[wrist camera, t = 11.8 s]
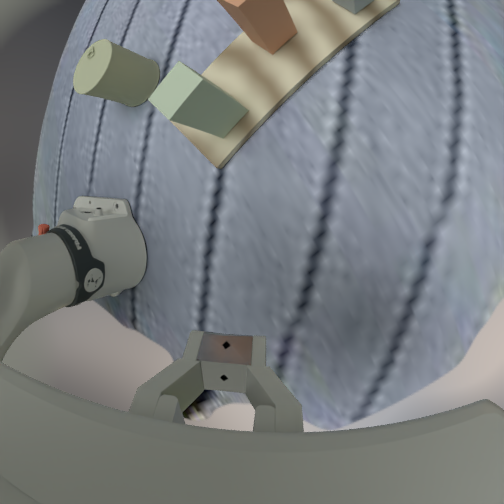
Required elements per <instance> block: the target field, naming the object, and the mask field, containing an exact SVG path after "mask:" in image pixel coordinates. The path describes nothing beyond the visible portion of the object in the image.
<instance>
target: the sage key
mask: <svg viewBox="0 0 504 504" xmlns="http://www.w3.org/2000/svg"><path fill="white" fill-rule="evenodd" d="M148 100H149V101H150V102H151V103H152V104H153V105H154V106H155V107H156V108H157V109H158V110H159V111H160V112H161V113H162V114H163V115H164V116H165V117H166V118H167V119H168V120H170V121H173V122H176V123H180V124H183V125H186V126H189V127H192V128H195V129H198V130H201V131H204V132H206V133H209V134H212V135H215V136H218V137H220V138H224V137H225V136H226V135H227V134H228V133H229V131H230V130H231V129H232V128H233V127H234V126H235V125H236V124H237V123H238V122H239V120H240V119H241V118H242V117H243V116H244V115H245V114H246V113H247V112H248V111H249V110H248V109H246V108H245V107H244V106H243V105H242V104H241V103H239V102H238V101H237V100H236V99H235V98H233V97H232V96H231V95H230V94H228V93H227V92H226V91H224V90H223V89H221V88H220V87H218V86H217V85H215V84H214V83H213V82H211V81H210V80H208V79H207V78H205V77H204V76H202V75H200V74H199V73H197V72H196V71H194V70H193V69H191V68H190V67H188V66H186V65H185V64H183V63H181V62H180V61H178V63H177V64H176V65H175V66H174V67H173V68H172V70H171V71H170V72H169V73H168V74H167V76H166V77H165V78H164V79H163V81H162V82H161V83H160V84H159V86H158V87H157V88H156V90H155V91H154V92H153V94H152V95H151V96H150V98H149V99H148Z"/></svg>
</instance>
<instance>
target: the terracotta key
mask: <svg viewBox="0 0 504 504" xmlns="http://www.w3.org/2000/svg"><path fill="white" fill-rule="evenodd" d="M217 1H218V2H219V3H220V4H221V5H222V6H223V7H224V9H225V10H226V11H227V12H228V13H229V14H230V15H231V17H232V18H233V19H234V20H235V21H236V23H237V24H238V25H239V26H240V27H241V29H242V30H243V31H244V32H245V33H246V35H247V36H248V37H249V38H250V40H251V41H252V42H254V43H255V44H257V45H258V46H260V47H262V48H263V49H265V50H266V51H268V52H269V53H271V54H272V55H273V54H274V53H275V52H276V51H277V50H278V49H279V48H280V47H281V46H282V45H284V44H285V43H286V42H287V41H288V40H289V39H290V38H291V37H293V36H294V35H295V34H296V33H297V29H296V27H295V25H294V22H293V20H292V18H291V16H290V13H289V11H288V9H287V7H286V5H285V3H284V0H217Z"/></svg>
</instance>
